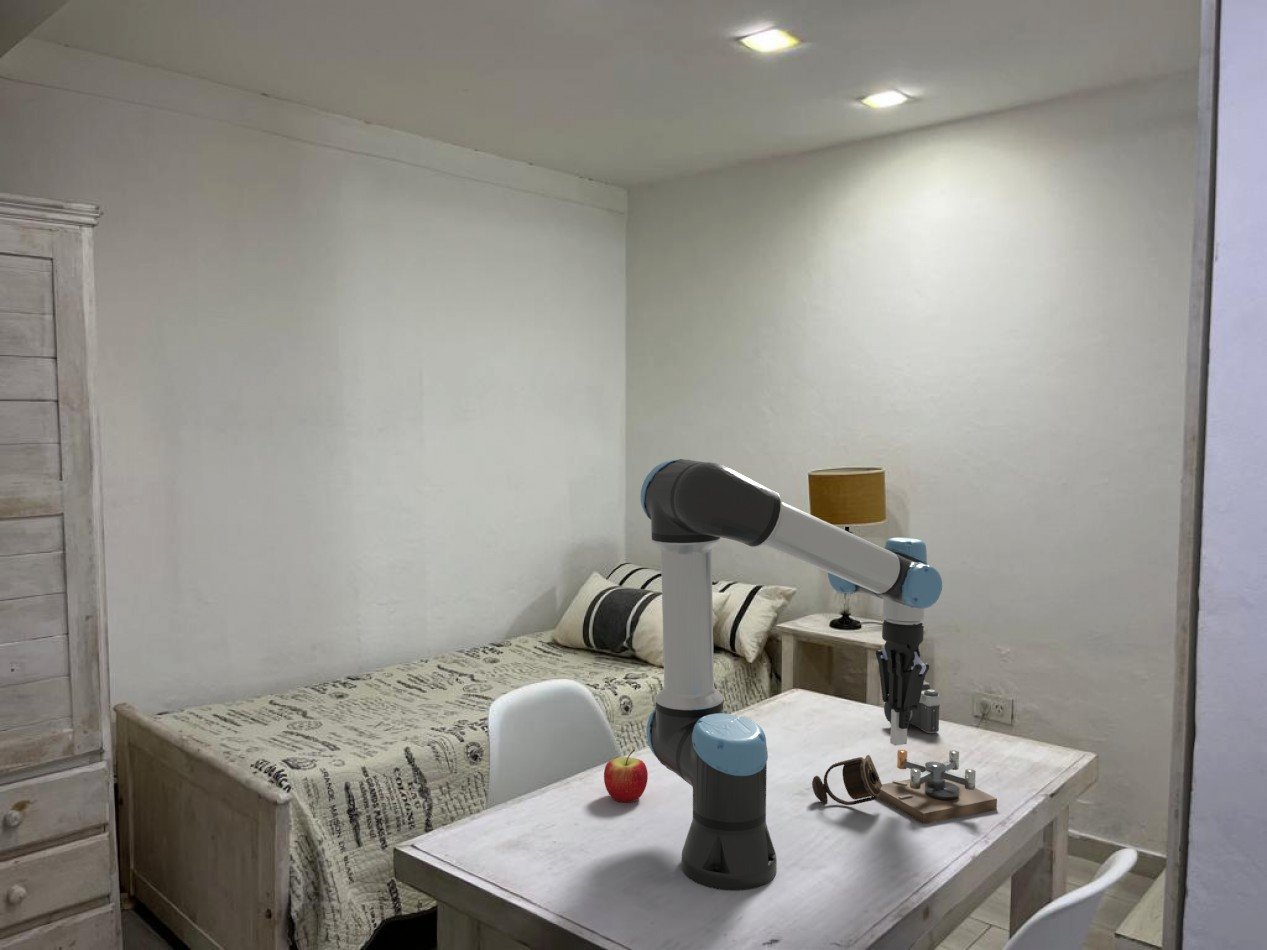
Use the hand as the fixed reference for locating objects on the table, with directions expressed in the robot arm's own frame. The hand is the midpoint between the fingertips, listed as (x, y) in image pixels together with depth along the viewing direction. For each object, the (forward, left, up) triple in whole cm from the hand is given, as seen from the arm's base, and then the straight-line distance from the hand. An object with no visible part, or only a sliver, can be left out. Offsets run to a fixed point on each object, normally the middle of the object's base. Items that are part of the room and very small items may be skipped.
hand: (898, 743), depth 184 cm
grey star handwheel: (+5, -4, -9) cm, 11 cm away
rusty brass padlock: (-12, 0, -11) cm, 16 cm away
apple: (-48, +20, -11) cm, 53 cm away
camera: (+31, +35, -11) cm, 48 cm away
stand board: (+5, -4, -11) cm, 13 cm away
